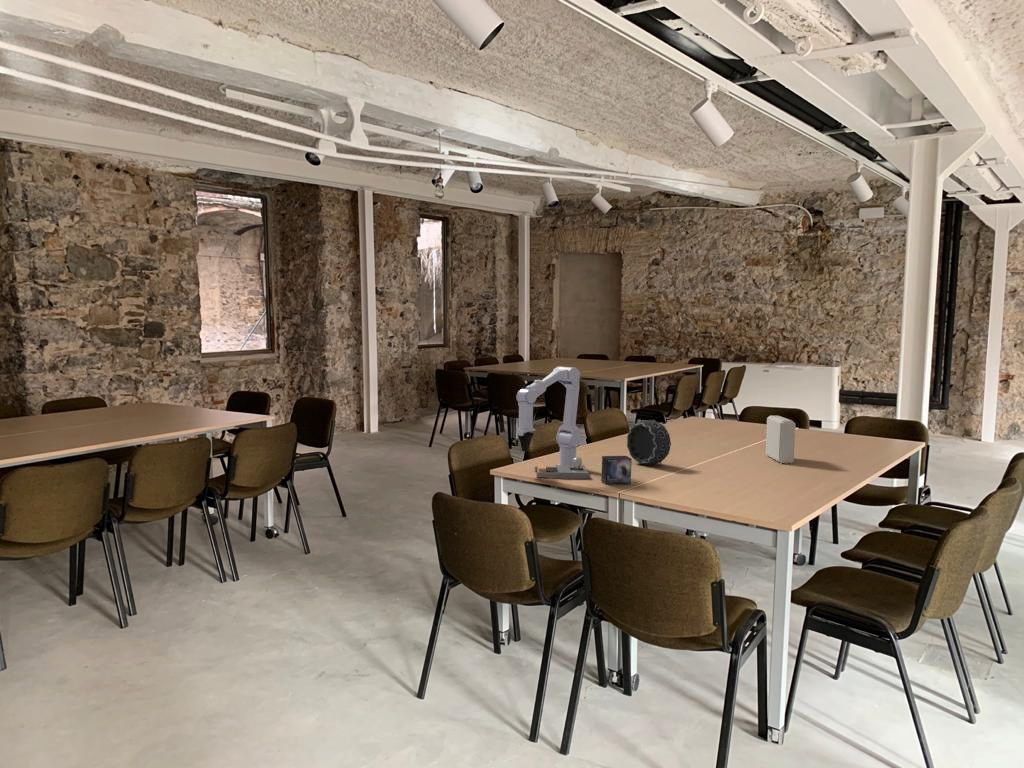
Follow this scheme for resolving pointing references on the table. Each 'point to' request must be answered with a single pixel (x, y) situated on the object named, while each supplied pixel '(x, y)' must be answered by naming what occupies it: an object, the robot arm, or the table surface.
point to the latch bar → (541, 468)
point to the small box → (616, 470)
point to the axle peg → (577, 463)
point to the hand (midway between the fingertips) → (525, 450)
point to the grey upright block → (780, 439)
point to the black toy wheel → (648, 442)
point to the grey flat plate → (565, 472)
